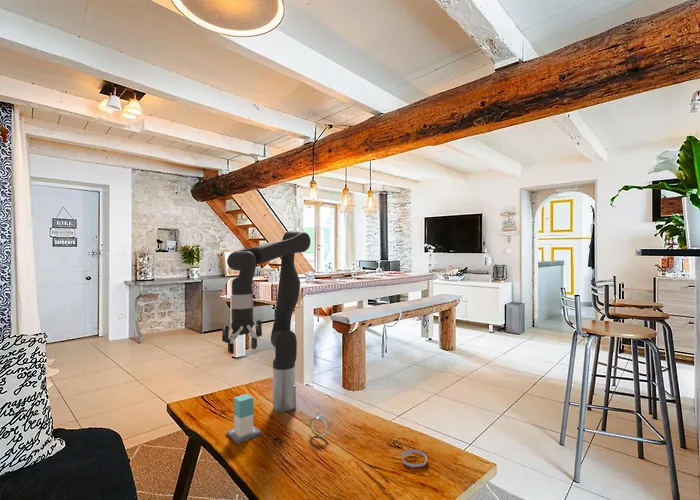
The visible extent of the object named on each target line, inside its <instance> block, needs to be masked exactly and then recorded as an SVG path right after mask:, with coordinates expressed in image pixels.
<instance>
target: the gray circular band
mask: <svg viewBox="0 0 700 500" xmlns="http://www.w3.org/2000/svg"><path fill="white" fill-rule="evenodd" d="M410 453H418V454H421V455H423V456H424V457H425V458H426V461H425V462H424V463H423V462H421V463H411V462H407V461H406V460H405V461H404V460H403V457H404V456H405V455H407V454H410ZM401 461H402V463H403V464H404V465H405V466H407V467H409V466H410V468H415V467H419V468H421V466H422V467H424V466H426V464H427V462H428V456H427V454H426V453H425V452H423V451H421V450H417V449H408V450H404V451H403V452H402V453H401Z"/></svg>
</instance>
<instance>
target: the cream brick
mask: <svg viewBox="0 0 700 500" xmlns="http://www.w3.org/2000/svg"><path fill="white" fill-rule="evenodd" d="M253 426H254V413H253V414H252V415H250V416H247V417H244V418H241V419H240V418H239V417H237V416H236V415H235V414H234V413H233V428H234V431H235V432H236V433H238V434H239V435H240V436H241V435H244V434H246V433H249V432H252V431H253Z"/></svg>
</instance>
